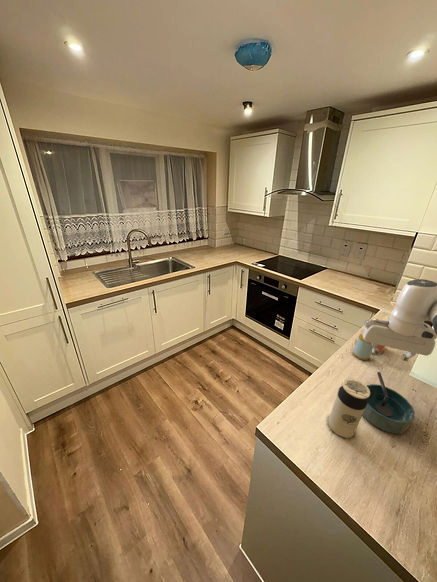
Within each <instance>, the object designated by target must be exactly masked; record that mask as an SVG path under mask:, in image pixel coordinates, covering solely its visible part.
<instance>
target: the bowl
mask: <svg viewBox="0 0 437 582" xmlns="http://www.w3.org/2000/svg"><path fill="white" fill-rule="evenodd" d="M365 385H366V384H365ZM366 386H367V387H368V388H369V390H370V396H369V397H368V398H367V399H368V403H367V406H366V408H365V410H364V412H363V415H362V417H364V418H365V419H366V420H367V421H368V422H369V423H370V424H372V425H373V426H375V427H376V428H378V429H380V430H381V431H385V432H387V433H391V434H402V433H405V432H406V431H407V430H408V429H409V427H410V425H412V423H413V421H414V419H415V414H416V413H415V410H414V407H413V405H412V404H411V403H410V402H409V400H408V399H406V398H405V397H404V396H403V395H402V394H400V393H399V392H397V391H396V390H394V389H392V388H390V387H387V386H385V387H386V390H387V394H388V397H389V398H388V400H387V402H386V404H385V405H386V406H388V407H389V408H390V409H391V410H392V413H393V414H392V416H391V418H388V417H386V416H384V415H382V414H380V413H379V412H377V411H376V410H374V409H375V406H376V405H377V404H382V401H383V399H384V394H383V390H382V387H381V384H373V383H371V384H367V385H366Z"/></svg>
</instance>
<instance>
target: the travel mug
mask: <svg viewBox="0 0 437 582" xmlns="http://www.w3.org/2000/svg"><path fill="white" fill-rule="evenodd" d="M341 384H342V385H341V386H340V387H339V388H338V391H337V394H336V397H335V399H334V402H333V405H332V408H331V411H330V414H329V417H328V421H327V422H328V423H327V424H328V426H329V428H330V429H331V430H332V431H333V432H334V433H335V434H336V435H337V436H340V437H341V438H347V439H349V438H352V437H353V436H354V435H355V432H356V430H357V428H358V426H359V424H360V422H361V419H362V417H363V412H364V410H365V408H366V406H367V403H368V399H367V398H368V397H369V396H370V390H369V388H368V387H367V386H366V384H365V383H363V381H361V380H359V379H356V378H351V377H348V378H345V379H343V381H342V383H341Z"/></svg>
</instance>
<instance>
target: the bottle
mask: <svg viewBox="0 0 437 582" xmlns="http://www.w3.org/2000/svg"><path fill="white" fill-rule="evenodd" d="M362 328H363V329H362ZM362 328H361V331H362V332H361V331H360V333H359V335H358V337H357V340H356V343H355V346H354V348H353V351H352V353H353V355H354V357H355V358H357V359H358V360H362V361H367V360H368V361H369V360H370V359H371V356H372V355H373V353H372V349H373V345H372V343H368V342H365V340H364V339H363V332H364V330H365V329H366V326H364V327H363V326H362Z"/></svg>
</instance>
